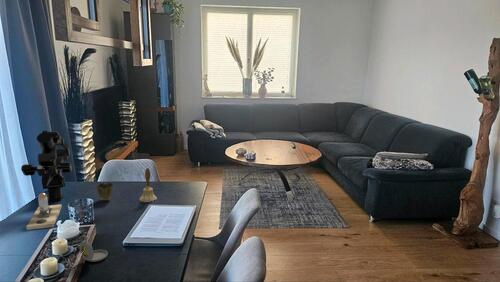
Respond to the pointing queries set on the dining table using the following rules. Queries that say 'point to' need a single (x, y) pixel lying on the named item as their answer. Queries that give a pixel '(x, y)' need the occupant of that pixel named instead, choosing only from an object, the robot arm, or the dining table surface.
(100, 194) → the cup
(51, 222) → the pitch plate
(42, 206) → the grey copper topped cylinder
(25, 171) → the robot arm
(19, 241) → the dining table surface
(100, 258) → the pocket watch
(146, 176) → the hand bell
